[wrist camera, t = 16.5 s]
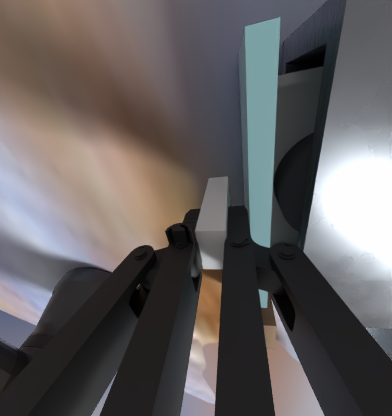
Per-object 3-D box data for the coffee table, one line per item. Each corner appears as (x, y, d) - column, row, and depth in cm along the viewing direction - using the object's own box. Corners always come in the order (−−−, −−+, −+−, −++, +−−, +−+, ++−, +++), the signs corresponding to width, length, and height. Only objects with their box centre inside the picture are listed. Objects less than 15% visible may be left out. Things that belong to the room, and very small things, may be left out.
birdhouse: (246, 249, 21) (251, 307, 16) (238, 55, 12) (244, 26, 7) (412, 247, 18) (497, 320, 12) (567, -23, 9) (1153, -218, 3)
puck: (371, 217, 15) (394, 237, 13) (272, 222, 17) (277, 240, 15) (409, 113, 11) (450, 119, 9) (274, 133, 13) (283, 142, 11)
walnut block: (229, 287, 26) (229, 344, 20) (227, 264, 24) (226, 322, 18) (263, 288, 25) (274, 349, 19) (264, 265, 23) (276, 326, 17)
